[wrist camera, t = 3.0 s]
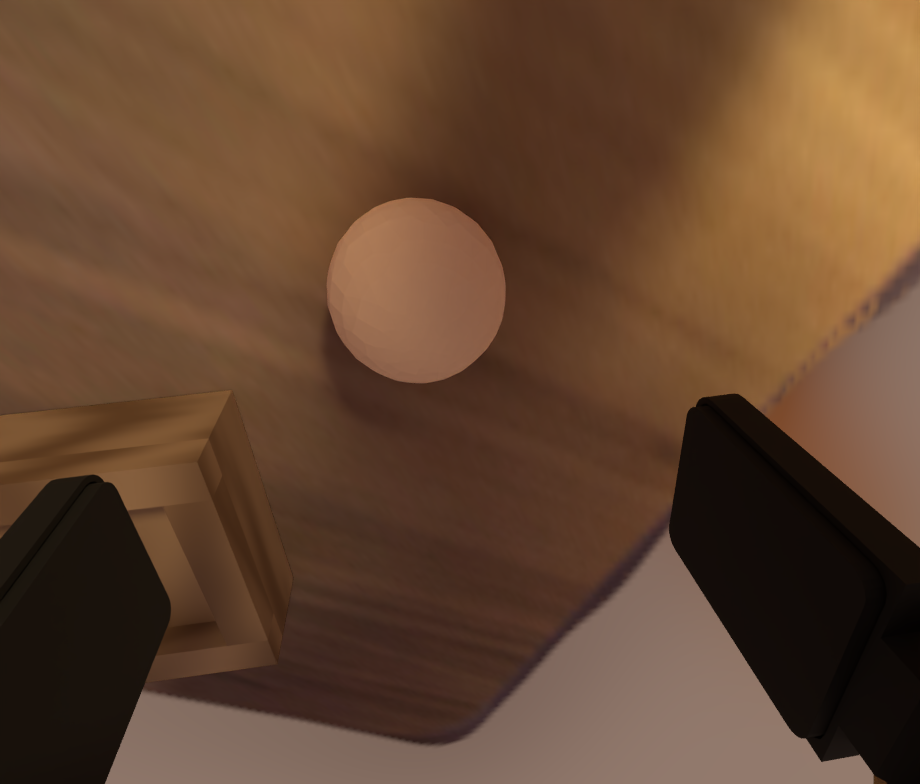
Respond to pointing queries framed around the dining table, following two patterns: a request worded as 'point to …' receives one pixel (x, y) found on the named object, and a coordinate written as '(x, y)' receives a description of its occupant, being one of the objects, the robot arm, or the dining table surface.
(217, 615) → the base
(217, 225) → the dining table surface
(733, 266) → the dining table surface
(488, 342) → the egg
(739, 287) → the dining table surface
